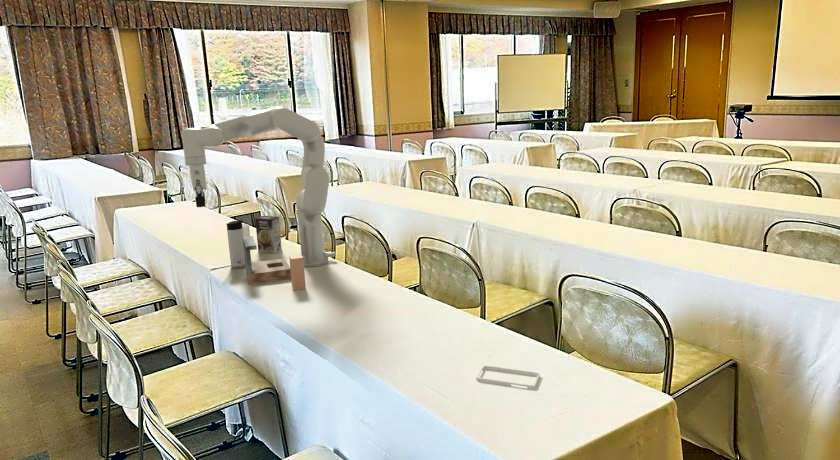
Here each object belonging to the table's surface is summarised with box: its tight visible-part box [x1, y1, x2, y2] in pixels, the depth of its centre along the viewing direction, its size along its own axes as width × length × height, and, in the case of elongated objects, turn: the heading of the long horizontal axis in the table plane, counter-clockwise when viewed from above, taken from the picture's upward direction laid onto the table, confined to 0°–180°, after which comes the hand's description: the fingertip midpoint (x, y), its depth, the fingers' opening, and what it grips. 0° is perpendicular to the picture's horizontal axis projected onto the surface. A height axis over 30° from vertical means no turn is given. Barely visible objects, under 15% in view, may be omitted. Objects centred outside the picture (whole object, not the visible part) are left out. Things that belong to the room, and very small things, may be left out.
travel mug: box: [226, 220, 246, 270], centre depth 258 cm, size 6×7×20 cm
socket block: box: [242, 235, 291, 285], centre depth 245 cm, size 16×16×15 cm
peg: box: [288, 254, 307, 291], centre depth 230 cm, size 4×4×12 cm
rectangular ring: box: [475, 365, 541, 390], centre depth 157 cm, size 7×1×15 cm
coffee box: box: [254, 215, 283, 255], centre depth 281 cm, size 9×6×16 cm
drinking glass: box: [242, 223, 251, 237], centre depth 271 cm, size 7×7×15 cm
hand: (201, 204), depth 240 cm, fingers open, 9 cm apart
